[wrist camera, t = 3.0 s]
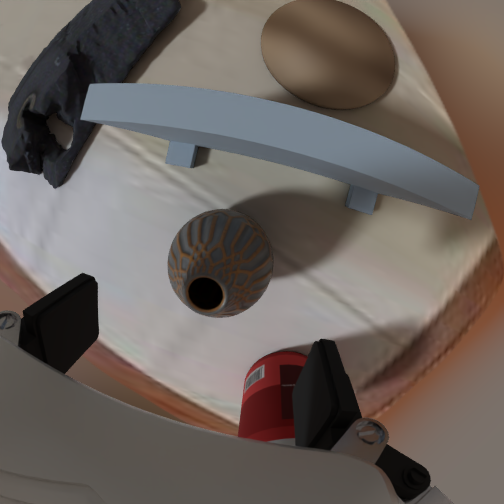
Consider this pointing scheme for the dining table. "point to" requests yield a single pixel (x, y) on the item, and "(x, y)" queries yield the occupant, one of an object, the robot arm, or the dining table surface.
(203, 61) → the dining table surface
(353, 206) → the screen
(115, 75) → the dark slate chunk
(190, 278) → the vase
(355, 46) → the coaster
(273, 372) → the canned food
